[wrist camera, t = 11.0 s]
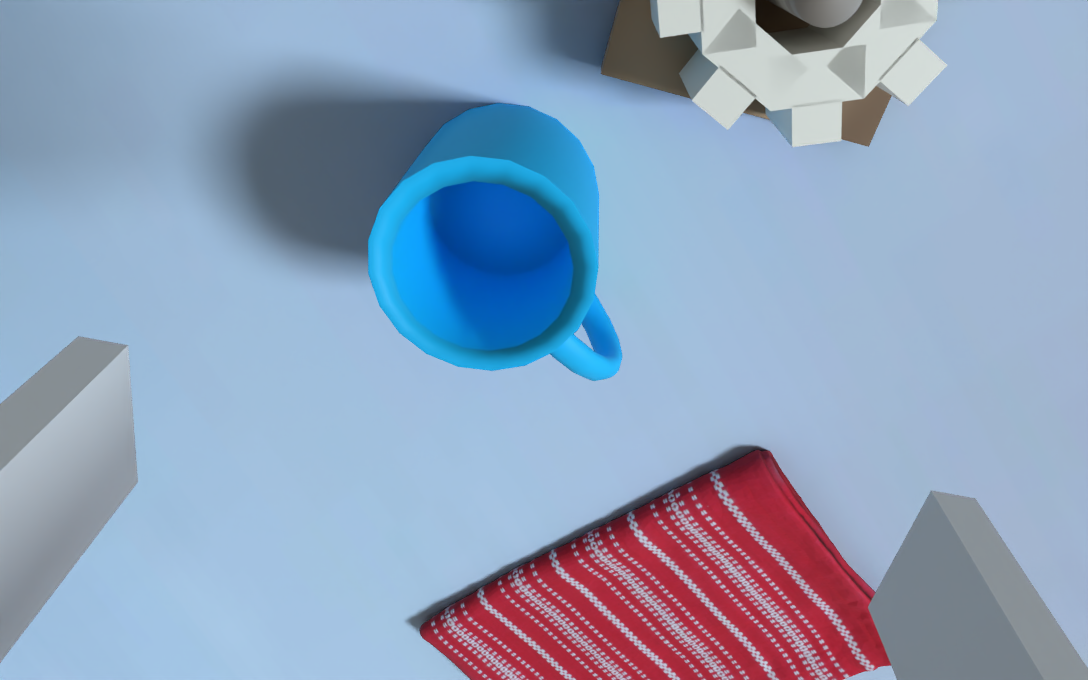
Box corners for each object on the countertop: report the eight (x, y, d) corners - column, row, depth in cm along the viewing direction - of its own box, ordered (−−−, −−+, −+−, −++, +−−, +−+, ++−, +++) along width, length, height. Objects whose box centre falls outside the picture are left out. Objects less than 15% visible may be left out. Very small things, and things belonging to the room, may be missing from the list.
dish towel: (913, 630, 47) (930, 668, 44) (581, 763, 54) (580, 801, 52) (767, 428, 41) (777, 459, 38) (418, 609, 49) (409, 644, 46)
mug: (376, 181, 35) (319, 251, 28) (517, 61, 33) (493, 103, 25) (547, 369, 39) (535, 471, 32) (686, 275, 37) (706, 365, 29)
